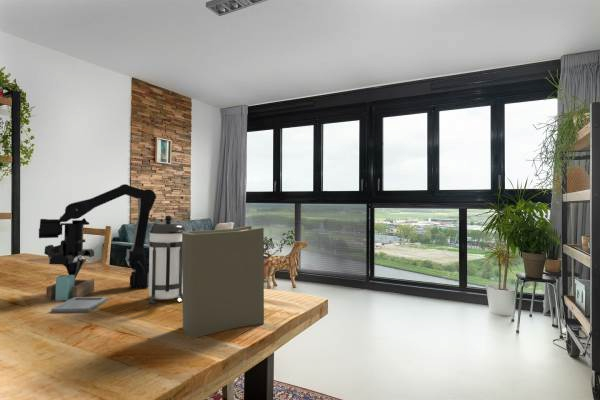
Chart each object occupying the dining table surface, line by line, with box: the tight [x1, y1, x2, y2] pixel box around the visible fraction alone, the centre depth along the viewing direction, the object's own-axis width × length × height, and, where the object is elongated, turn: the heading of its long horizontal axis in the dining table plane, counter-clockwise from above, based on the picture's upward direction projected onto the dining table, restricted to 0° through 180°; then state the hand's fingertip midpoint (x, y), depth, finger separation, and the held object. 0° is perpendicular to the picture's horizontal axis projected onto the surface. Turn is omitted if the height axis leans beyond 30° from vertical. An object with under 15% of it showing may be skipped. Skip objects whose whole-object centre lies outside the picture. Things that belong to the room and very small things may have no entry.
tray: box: [50, 296, 109, 313], centre depth 113 cm, size 11×13×1 cm
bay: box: [45, 278, 95, 301], centre depth 125 cm, size 10×12×4 cm
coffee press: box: [148, 215, 188, 305], centre depth 122 cm, size 17×16×30 cm
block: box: [55, 274, 76, 301], centre depth 121 cm, size 4×4×8 cm
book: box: [182, 225, 265, 339], centre depth 98 cm, size 22×9×28 cm, turn 124°
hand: (72, 279), depth 126 cm, fingers closed
